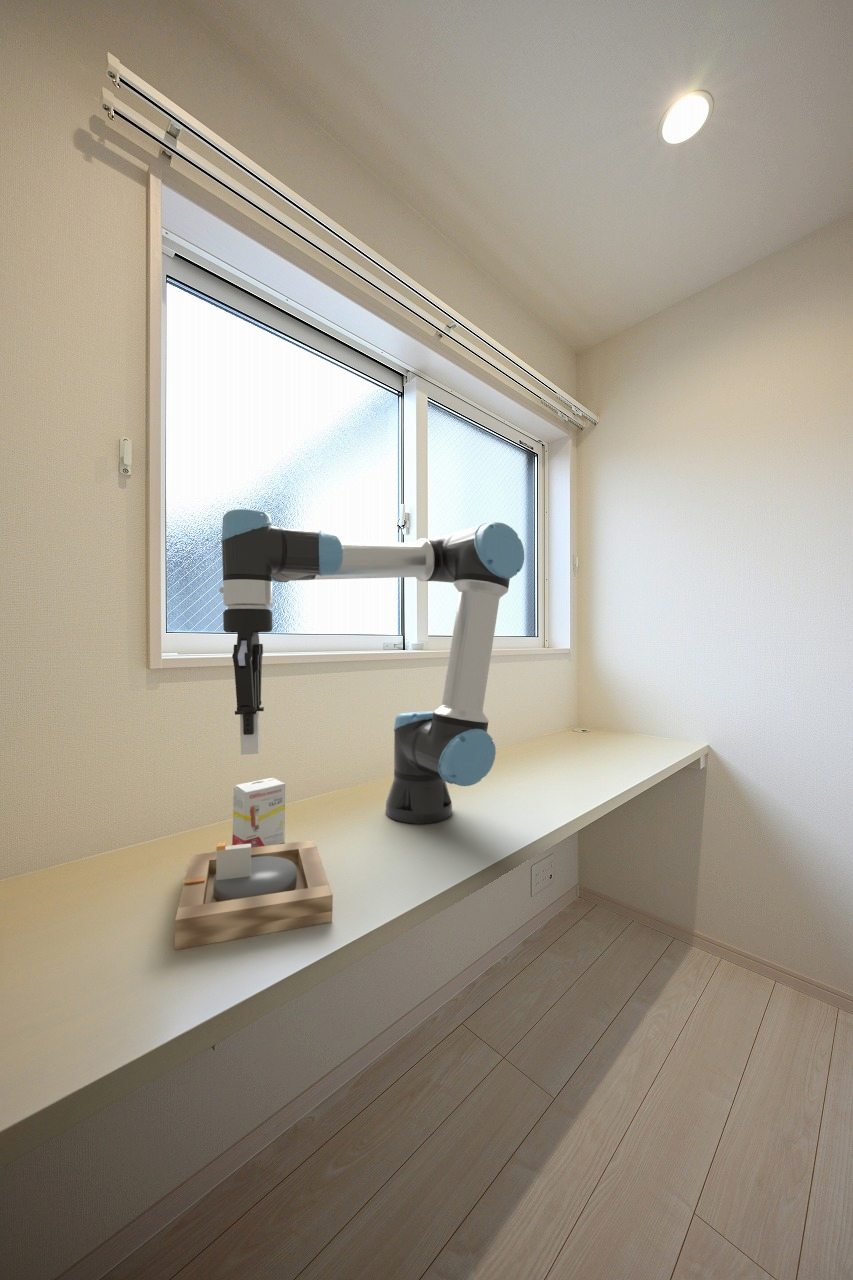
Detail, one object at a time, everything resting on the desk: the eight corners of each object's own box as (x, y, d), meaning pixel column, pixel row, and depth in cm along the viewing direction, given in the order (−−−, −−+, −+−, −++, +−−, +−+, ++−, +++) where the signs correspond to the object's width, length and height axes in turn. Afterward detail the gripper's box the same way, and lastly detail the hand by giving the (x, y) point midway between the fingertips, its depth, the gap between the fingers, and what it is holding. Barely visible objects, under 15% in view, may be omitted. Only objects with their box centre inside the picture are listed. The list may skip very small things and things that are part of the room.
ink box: (243, 856, 91) (244, 791, 91) (231, 848, 95) (231, 785, 95) (285, 842, 98) (286, 782, 98) (272, 835, 101) (273, 776, 101)
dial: (294, 864, 85) (295, 822, 85) (298, 900, 73) (299, 852, 73) (217, 873, 81) (218, 830, 81) (208, 913, 70) (209, 862, 70)
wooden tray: (313, 861, 90) (314, 838, 90) (332, 921, 71) (332, 892, 71) (190, 878, 83) (190, 853, 83) (174, 949, 64) (175, 917, 64)
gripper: (232, 609, 88) (234, 745, 88) (213, 606, 75) (216, 764, 75) (277, 609, 89) (279, 743, 89) (265, 606, 76) (268, 762, 77)
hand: (250, 752), depth 82 cm, fingers closed
